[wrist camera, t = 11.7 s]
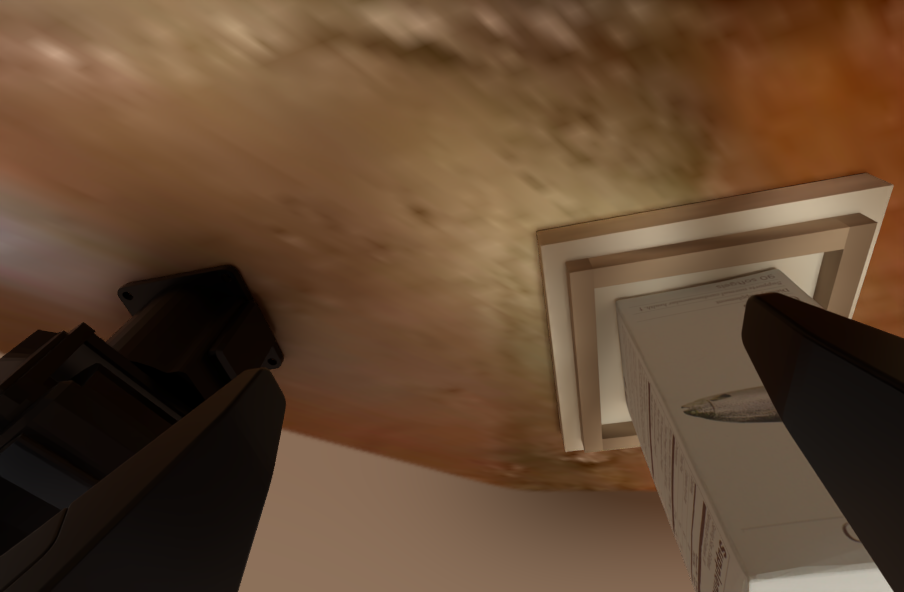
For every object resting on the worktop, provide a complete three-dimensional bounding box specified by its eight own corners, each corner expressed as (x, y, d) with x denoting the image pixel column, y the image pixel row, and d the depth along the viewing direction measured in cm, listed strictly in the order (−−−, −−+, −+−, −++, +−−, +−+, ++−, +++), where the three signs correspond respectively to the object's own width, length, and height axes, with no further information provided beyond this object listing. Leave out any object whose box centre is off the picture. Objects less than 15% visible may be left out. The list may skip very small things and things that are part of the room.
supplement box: (781, 262, 20) (1125, 550, 10) (763, 382, 24) (997, 683, 13) (609, 295, 21) (749, 585, 11) (619, 405, 25) (730, 698, 15)
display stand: (561, 431, 29) (568, 465, 27) (536, 231, 21) (543, 256, 19) (802, 403, 27) (830, 437, 25) (866, 172, 20) (914, 193, 17)
